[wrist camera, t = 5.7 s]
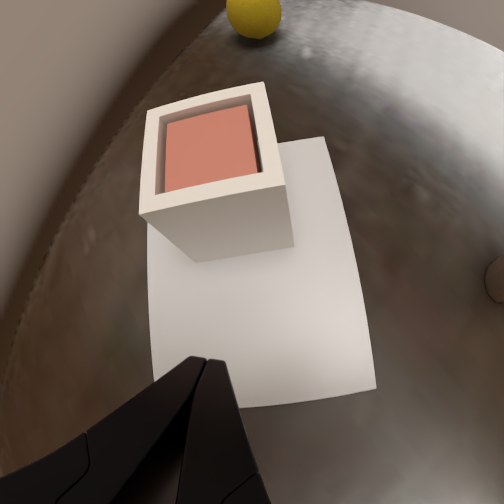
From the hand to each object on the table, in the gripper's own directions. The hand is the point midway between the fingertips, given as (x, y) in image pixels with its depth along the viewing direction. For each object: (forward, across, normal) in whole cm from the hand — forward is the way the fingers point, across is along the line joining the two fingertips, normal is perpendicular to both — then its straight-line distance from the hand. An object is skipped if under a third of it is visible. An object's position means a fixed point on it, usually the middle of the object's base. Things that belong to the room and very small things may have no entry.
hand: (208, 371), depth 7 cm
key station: (+14, 0, +3) cm, 14 cm away
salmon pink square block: (+12, +2, -3) cm, 13 cm away
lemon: (+30, +2, -17) cm, 34 cm away
